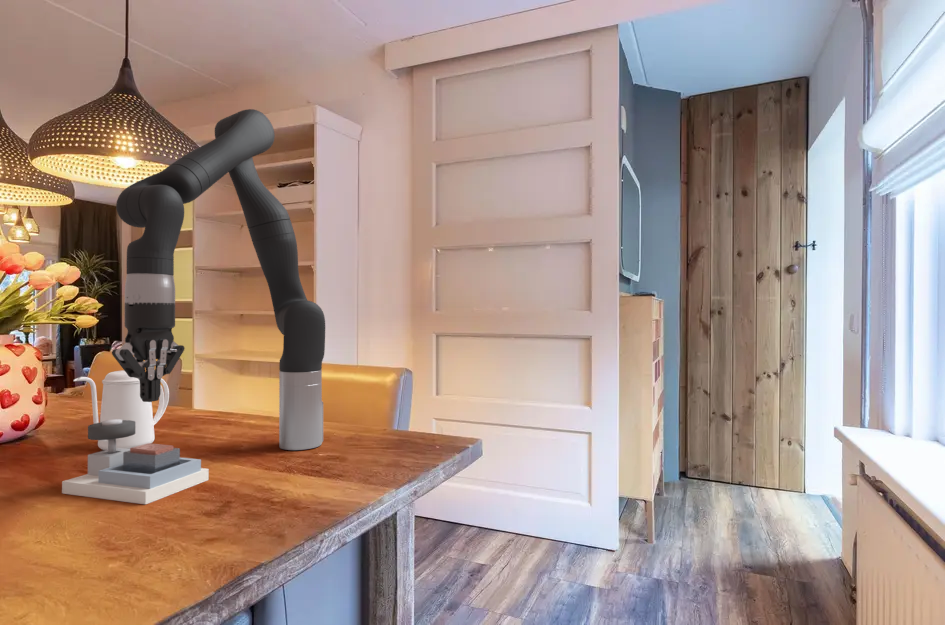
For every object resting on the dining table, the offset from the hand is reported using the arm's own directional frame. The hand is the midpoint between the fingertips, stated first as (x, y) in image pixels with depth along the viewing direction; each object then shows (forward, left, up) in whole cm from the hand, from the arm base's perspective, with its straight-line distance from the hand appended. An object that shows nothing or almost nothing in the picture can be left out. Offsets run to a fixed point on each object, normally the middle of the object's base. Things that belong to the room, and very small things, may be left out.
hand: (150, 401), depth 92 cm
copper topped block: (0, 0, -13) cm, 13 cm away
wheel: (0, -9, -10) cm, 13 cm away
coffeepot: (-21, -31, -15) cm, 40 cm away
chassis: (0, -3, -15) cm, 15 cm away
